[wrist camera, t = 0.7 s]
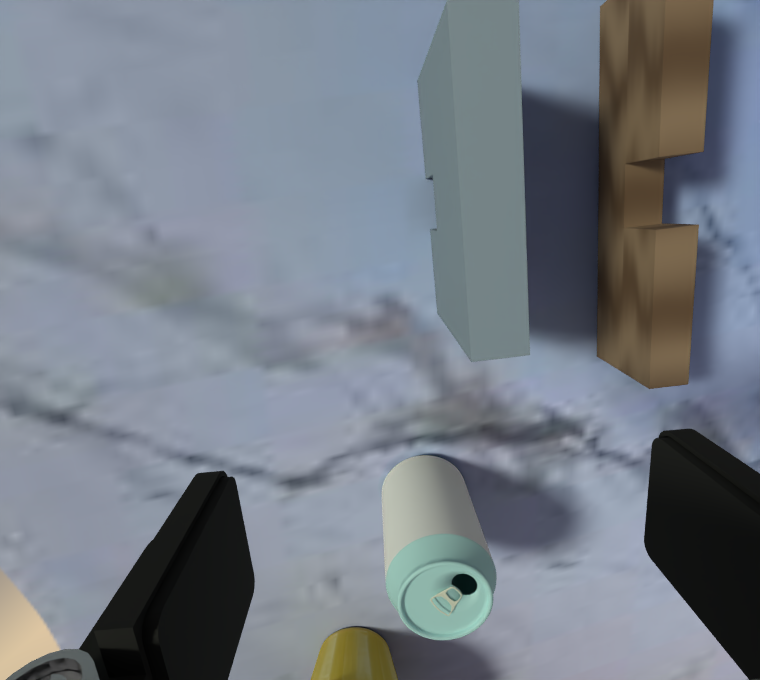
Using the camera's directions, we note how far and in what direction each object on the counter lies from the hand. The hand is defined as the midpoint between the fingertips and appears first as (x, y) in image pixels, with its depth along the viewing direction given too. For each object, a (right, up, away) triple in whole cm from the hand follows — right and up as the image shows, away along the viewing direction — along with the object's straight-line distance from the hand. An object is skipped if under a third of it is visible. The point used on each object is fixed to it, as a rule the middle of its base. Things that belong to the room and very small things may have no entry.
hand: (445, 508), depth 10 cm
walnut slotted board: (+15, +14, +23) cm, 31 cm away
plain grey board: (+3, +14, +23) cm, 27 cm away
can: (+2, -9, +29) cm, 30 cm away
